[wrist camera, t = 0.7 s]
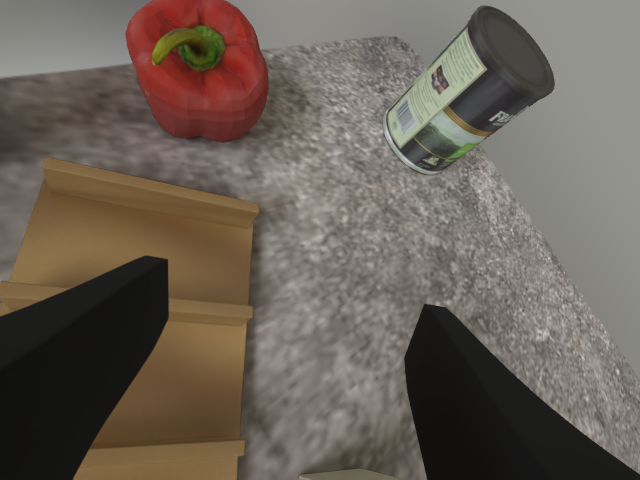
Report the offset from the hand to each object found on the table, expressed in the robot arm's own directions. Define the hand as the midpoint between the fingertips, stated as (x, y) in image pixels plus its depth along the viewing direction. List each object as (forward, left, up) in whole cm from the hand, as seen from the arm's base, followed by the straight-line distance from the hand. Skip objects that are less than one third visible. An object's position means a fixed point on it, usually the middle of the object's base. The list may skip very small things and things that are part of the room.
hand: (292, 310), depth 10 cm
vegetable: (+20, +3, -17) cm, 27 cm away
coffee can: (+27, -23, -17) cm, 40 cm away
